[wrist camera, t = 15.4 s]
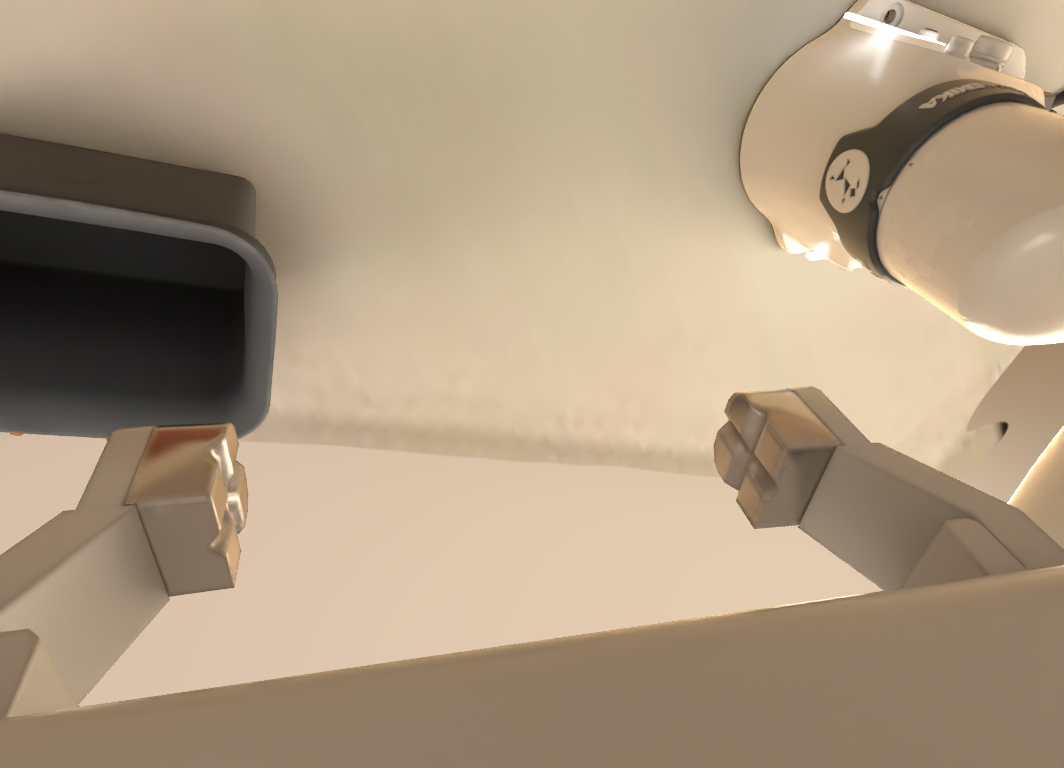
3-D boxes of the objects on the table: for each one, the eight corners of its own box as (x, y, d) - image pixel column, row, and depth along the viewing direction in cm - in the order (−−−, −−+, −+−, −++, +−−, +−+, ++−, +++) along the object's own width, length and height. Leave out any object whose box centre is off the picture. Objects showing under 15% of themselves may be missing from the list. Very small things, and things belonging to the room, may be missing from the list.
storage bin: (301, 148, 42) (281, 237, 31) (285, 348, 50) (265, 476, 39) (-114, 63, 35) (-335, 139, 24) (-55, 311, 43) (-198, 455, 32)
